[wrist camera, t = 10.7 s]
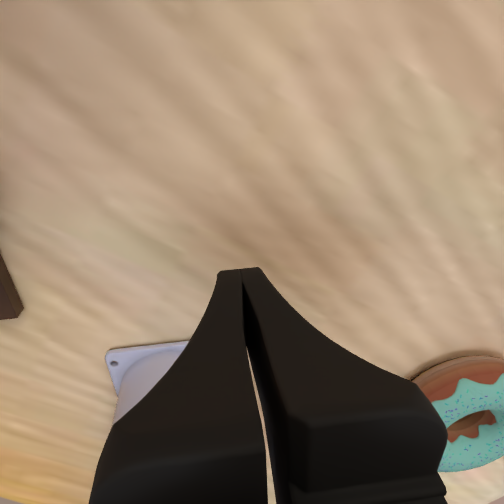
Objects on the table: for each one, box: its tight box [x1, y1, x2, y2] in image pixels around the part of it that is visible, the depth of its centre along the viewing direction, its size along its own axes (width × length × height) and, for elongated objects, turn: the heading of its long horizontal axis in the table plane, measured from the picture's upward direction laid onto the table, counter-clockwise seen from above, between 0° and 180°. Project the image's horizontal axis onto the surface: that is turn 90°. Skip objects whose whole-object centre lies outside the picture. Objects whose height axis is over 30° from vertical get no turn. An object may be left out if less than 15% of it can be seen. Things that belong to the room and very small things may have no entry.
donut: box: [411, 356, 504, 472], centre depth 32 cm, size 12×12×4 cm
